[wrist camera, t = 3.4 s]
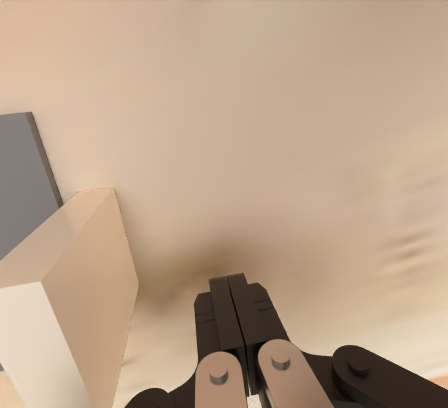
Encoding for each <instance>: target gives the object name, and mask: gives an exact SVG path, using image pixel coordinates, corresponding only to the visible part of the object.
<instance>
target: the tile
mask: <svg viewBox="0 0 448 408" xmlns="http://www.w3.org/2000/svg"><path fill="white" fill-rule="evenodd" d="M138 287H139V282H138V278H137V274H136V270H135V267H134V263H133V259H132V255H131V251H130V247H129V244H128V240H127V236H126V232H125V228H124V225H123V221H122V217H121V213H120V209H119V206H118V202H117V198H116V194H115V190H114V187H111V188H103V189H96V190H89V191H81V192H78V193H76V194H75V195H74V196H73V197H72V198H71V199H70V200H68V201H67V202H66V203H65V204H64V205H63V206H62V207H61V208H59V209H58V210H57V211H56V212H55V213H54V214H53V215H51V216H50V217H49V218H48V219H47V220H46V221H45V222H44V223H42V224H41V225H40V226H39V227H38V228H37V229H36V230H34V231H33V232H32V233H31V234H30V235H29V236H28V237H27V238H25V239H24V240H23V241H22V242H21V243H20V244H19V245H18V246H16V247H15V248H14V249H13V250H12V251H11V252H10V253H8V254H7V255H6V256H5V257H4V258H3V259H2V260H1V261H0V363H1V365H2V367H3V368H4V370H5V372H6V374H7V375H8V377H9V379H10V381H11V382H12V384H13V386H14V388H15V389H16V391H17V393H18V395H19V396H20V398H21V400H22V402H23V403H24V405H25V407H26V408H112V406H113V402H114V397H115V393H116V388H117V384H118V379H119V374H120V370H121V365H122V361H123V356H124V352H125V347H126V342H127V338H128V333H129V329H130V324H131V319H132V315H133V310H134V306H135V301H136V297H137V292H138Z"/></svg>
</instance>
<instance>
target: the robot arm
mask: <svg viewBox="0 0 448 408" xmlns="http://www.w3.org/2000/svg"><path fill="white" fill-rule="evenodd" d="M209 284H210V291H211V292H206V293H201V294H198V296H197V298H196V300H195V303H194V310H195V323H196V336H197V350H198V364H197V368H196V370H195V372H194V374H193V375H192V377H191V378H190V379H189V380H188V381H187V382H186V383H184V384H183V385H181V386H180V387H178V388H176V389H175V390H173V391H171V392H169V393H167V392H166V391H165V390H162V389H160V388H150V389H146V390H144V391H142V392H140V393H138V394H137V395H136V396H135V397H133V398H132V399H131V400H130V402H129V403H128V404H127V405H126V407H125V408H248V404H247V397H248V396H249V388H250V392H251V396H252V395H256V394H258V395H259V398H260V402H261V406H262V408H448V390H447V389H445V388H443V387H441V386H438V385H436V384H434V383H433V382H431V381H429V380H427V379H425V378H423V377H421V376H419V375H417V374H415V373H413V372H411V371H409V370H407V369H405V368H403V367H401V366H399V365H397V364H395V363H393V362H391V361H389V360H387V359H384V358H382V357H380V356H378V355H376V354H374V353H372V352H370V351H368V350H366V349H364V348H362V347H359V346H354V345H345V346H342V347H340V348H338V349H337V350H336V351H335V352H334V354H333V357H331V356H320V355H312V354H308V353H305V352H303V351H301V350H300V349H299V348H298V347H297V346H296V345H294V344H293V343H292V342H291V341H290V339H289V338H288V336H287V333H286V331H285V329H284V327H283V325H282V323H281V321H280V319H279V316H278V314H277V312H276V310H275V309H274V306H273V304H272V301H271V300H270V297H269V295H268V293H267V291H266V289H265V288H263V287H262V286H261V285H260V284H259V283H253V284H247V281H246V279H245V276H244V274H243V273H240V274H234V275H229V276H227V280H226V277H225V276H224V277H219V278H213V279H209ZM248 384H249V387H248Z"/></svg>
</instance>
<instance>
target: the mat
mask: <svg viewBox="0 0 448 408" xmlns="http://www.w3.org/2000/svg"><path fill="white" fill-rule="evenodd" d="M62 206H63V203H62V200H61V197H60V194H59V191H58V188H57V185H56V183H55V180H54V177H53V174H52V171H51V168H50V165H49V162H48V159H47V156H46V153H45V151H44V148H43V145H42V142H41V139H40V136H39V133H38V130H37V127H36V124H35V121H34V119H33V116H32V113H31V112H26V113H16V114H6V115H0V261H1V260H2V259H3V258H4V257H5V256H6V255H7V254H8V253H10V252H11V251H12V250H13V249H14V248H15V247H16V246H18V245H19V244H20V243H21V242H22V241H23V240H24V239H25V238H27V237H28V236H29V235H30V234H31V233H32V232H33V231H34V230H36V229H37V228H38V227H39V226H40V225H41V224H42V223H44V222H45V221H46V220H47V219H48V218H49V217H50V216H51V215H53V214H54V213H55V212H56V211H57V210H58V209H59V208H61V207H62ZM0 371H4V368H3V367H2V365H1V363H0Z"/></svg>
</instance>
